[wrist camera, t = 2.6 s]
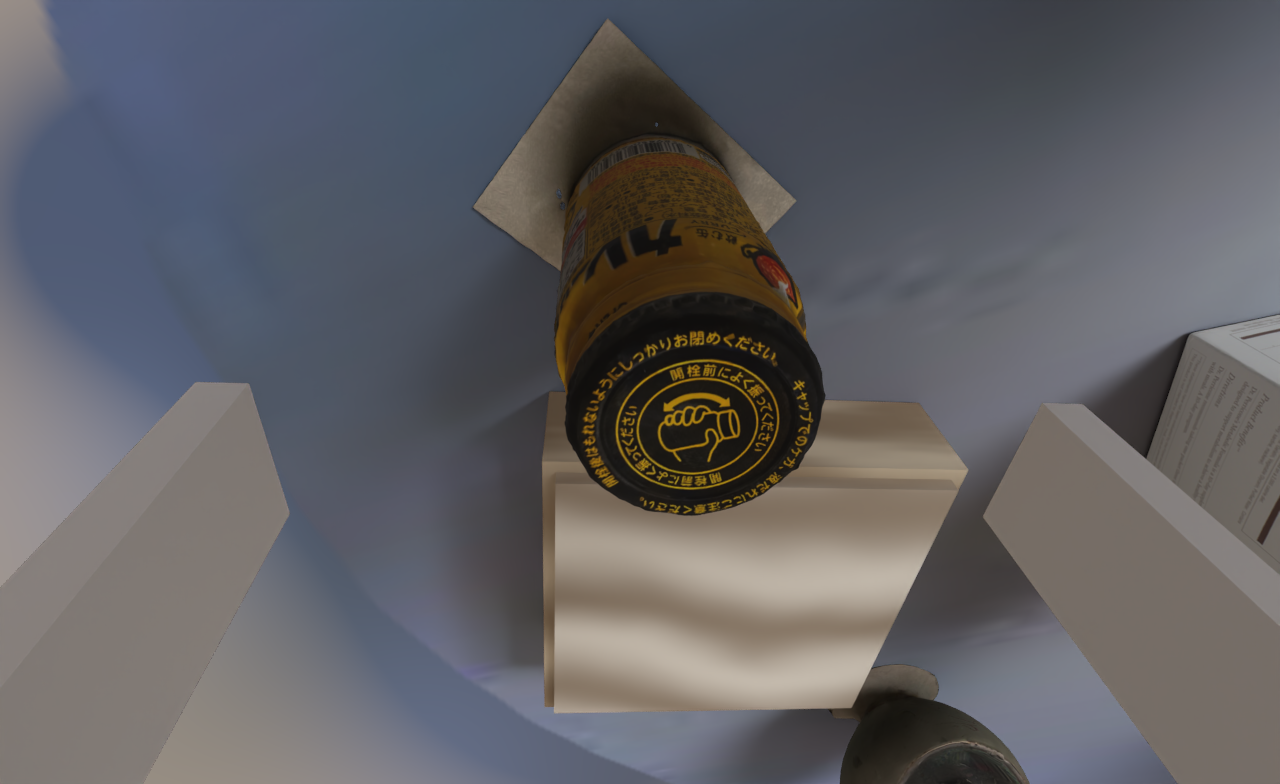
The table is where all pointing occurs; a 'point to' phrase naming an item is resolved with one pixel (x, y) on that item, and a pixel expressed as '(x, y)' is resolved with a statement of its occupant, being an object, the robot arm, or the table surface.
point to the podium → (741, 573)
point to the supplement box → (1228, 430)
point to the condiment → (662, 288)
